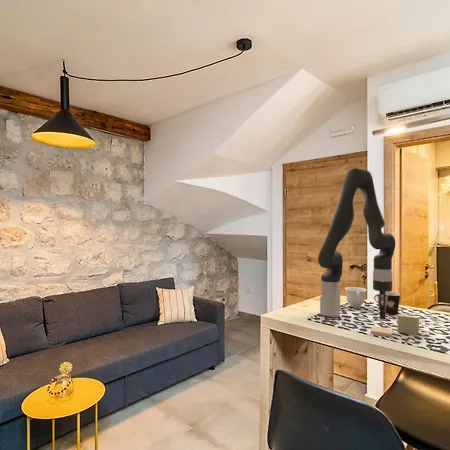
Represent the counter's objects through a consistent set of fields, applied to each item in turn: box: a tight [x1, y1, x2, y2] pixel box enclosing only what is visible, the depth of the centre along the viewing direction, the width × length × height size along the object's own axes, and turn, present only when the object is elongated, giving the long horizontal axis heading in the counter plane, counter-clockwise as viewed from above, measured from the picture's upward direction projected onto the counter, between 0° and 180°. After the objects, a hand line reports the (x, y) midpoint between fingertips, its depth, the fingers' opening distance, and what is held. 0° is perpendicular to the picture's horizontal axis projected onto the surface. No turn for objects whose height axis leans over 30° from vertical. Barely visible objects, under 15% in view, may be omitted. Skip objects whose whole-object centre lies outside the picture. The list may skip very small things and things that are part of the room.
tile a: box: [370, 326, 393, 338], centre depth 137 cm, size 8×2×7 cm
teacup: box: [344, 286, 368, 309], centre depth 180 cm, size 12×15×10 cm
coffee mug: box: [373, 291, 401, 315], centre depth 170 cm, size 12×9×10 cm
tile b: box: [396, 313, 420, 335], centre depth 138 cm, size 8×2×7 cm, turn 63°
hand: (382, 319), depth 139 cm, fingers closed
